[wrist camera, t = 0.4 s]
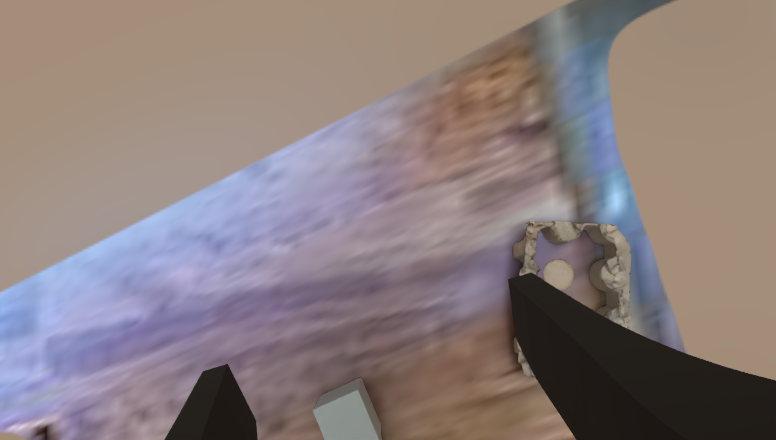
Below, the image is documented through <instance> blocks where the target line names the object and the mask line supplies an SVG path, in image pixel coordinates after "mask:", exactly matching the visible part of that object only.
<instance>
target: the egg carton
mask: <svg viewBox="0 0 776 440" xmlns="http://www.w3.org/2000/svg"><path fill="white" fill-rule="evenodd" d="M527 224H528V228H527V231H526V236H525V237H524V239H523V240H522V241H520V242H519V243H515V244H514V246H513V258H514V259H517V260H519V261H521V262H522V263H523V264H524V265H523V268H522V269H520V274H519V276H521V275H524V274H527V273H531V272H532V273H533V274H535V275H537V273H538V272H539V270H540V268H539V266H538V265H537V262H536V261H535V260H534V258H535V253H536V241H537V235H538V233H539V231H540V230H542V232H543V235H544V237H545V238H546V239H547V240H548V241H549V242H551V243H554V244H562V243H567V242H571V241H573V240H576V239H577V238H578V237H579V236H580V234H581V233H582V230H586V231H587V232H588V235H589V237H590V238H591V240H592V241H594V242H595V243H597V244H601V245H603V246H604V253H605V255H604V259H601V260H598V261H596V262H595V263H593V265H592V266H591V268H590V271H589V278H590V281H591V283H592V285H593V286H594V287H595V288H597V289H599V290H601V291H603V292H605V293H606V306H605V307H601V308H599V309H597V310H596V311H595V312H597V313H599V314H600V315H602V316H604V317H606V318H608V319H609V320H611V321H613V322H615V323H617V324H619V325H621V326H623V327H625V328H628V324H629V321H630V319H631V317H630V307H629V298H630V287H629V278H630V265H631V251H630V246H629V244H628V242H627V240H626V239H625V238H624V236H623V235H622V234H621V232H620V231H619V229H618V228H617V227H616V226H614V225H599V224H588V223H583V224H578V223H572V222H563V221H553V223H545V222H527ZM573 278H574V271H573V269H572V267H571V265H570V264H569V263H567V262H566V261H565V260H562V259H554V260H552V261H550V262H548V263H547V264H546V266H545V267H544V270H543V279H544V281H546V282H548V283H549V284H551V285H552V286H554V287H555V288H557V289H559V290H564V289H566V288H568V287H569V286H570V285H571V284H572V281H573ZM514 351H515V353H517V354H519V355H518V362H519V363H520V364H521V365H522V368H523V375H524V376H532V377H535V376H534V374H533V372H532V370H531V368H530V366H529V364H528V362H527V360H526V358H525V356H523V355H522V351H521V348H520V346H519V344H518V342H517V339H516V338H514Z"/></svg>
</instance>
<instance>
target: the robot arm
mask: <svg viewBox="0 0 776 440" xmlns="http://www.w3.org/2000/svg"><path fill="white" fill-rule="evenodd" d="M508 281H509V288H510V296H511V303H512V310H513V317H514V324H515V332H516V339H517V342H518V344H519V346H520V348H521V350H522V352H523V354H524V356H525V358H526V360H527V362H528V364H529V366H530V368H531V370H532V372H533V374H534V376H535V377H536V379H537V380H538V382H539V383H540V385H541V387H542V388H543V390H544V391H545V393H546V394H547V396H548V397H549V399H550V400H551V402H552V403H553V405H554V406H555V408H556V409H557V411H558V412H559V414H560V415H561V417H562V418H563V420H564V421H565V423H566V424H567V426H568V427H569V429H570V430H571V432H572V433H573V435H574V436H575V438H576V439H577V440H776V381H775V380H771V379H767V378H764V377H759V376H756V375H752V374H748V373H745V372H741V371H738V370H734V369H731V368H727V367H724V366H721V365H718V364H714V363H712V362H709V361H706V360H703V359H700V358H697V357H693V356H691V355H688V354H686V353H683V352H680V351H677V350H675V349H672V348H670V347H668V346H665V345H663V344H660V343H658V342H656V341H653V340H651V339H648V338H646V337H644V336H642V335H639V334H637V333H635V332H633V331H631V330H629V329H627V328H625V327H623V326H621V325H619V324H617V323H615V322H613V321H611V320H609V319H608V318H606V317H604V316H602V315H600V314H599V313H597V312H595V311H593V310H592V309H590V308H588V307H586V306H585V305H583V304H581V303H580V302H578V301H576V300H575V299H573V298H571V297H570V296H568V295H567V294H565V293H563V292H562V291H560V290H559V289H557V288H555V287H554V286H552V285H551V284H549V283H548V282H546V281H544V280H543V279H541V278H540V277H538V276H537V275H535V274H533V273H532V272H531V273H527V274H524V275H521V276H518V277H514V278H511V279H508ZM165 440H257V427H256V420H255V418H254V416H253V414H252V412H251V410H250V408H249V406H248V404H247V402H246V400H245V398H244V396H243V394H242V392H241V390H240V388H239V386H238V384H237V382H236V380H235V378H234V376H233V374H232V372H231V370H230V368H229V366H228V364H226V365H223V366H219V367H216V368H213V369H209V370H206V371H203V373H202V374H201V376H200V378H199V379H198V381H197V383H196V385H195V386H194V388H193V390H192V392H191V394H190V396H189V397H188V399H187V401H186V403H185V405H184V406H183V408H182V410H181V412H180V414H179V415H178V417H177V419H176V421H175V423H174V424H173V426H172V428H171V429H170V431H169V433H168V435H167V436H166V438H165Z"/></svg>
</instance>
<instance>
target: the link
mask: <svg viewBox="0 0 776 440" xmlns="http://www.w3.org/2000/svg"><path fill="white" fill-rule="evenodd" d="M313 413H314V415H315V418H316V420H317V423H318V425H319V427H320V430H321V432H322V435H323V437H324V440H383V439H382V437H381V423H380V421H379V419H378V416H377V414H376V412H375V409H374V407H373V405H372V402H371V400H370V397H369V395H368V393H367V390H366V388H365V386H364V383H363V381H362V378H361V377H360V378H358V379H356V380H353V381H351V382H349V383H347V384H345V385H342V386H340V387H338V388H336V389H333V390H331V391H329V392H327V393H325V394H322V395H321V397H320V398H319V400H318V402H317V403H316V405H315V407H314V409H313Z"/></svg>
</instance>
